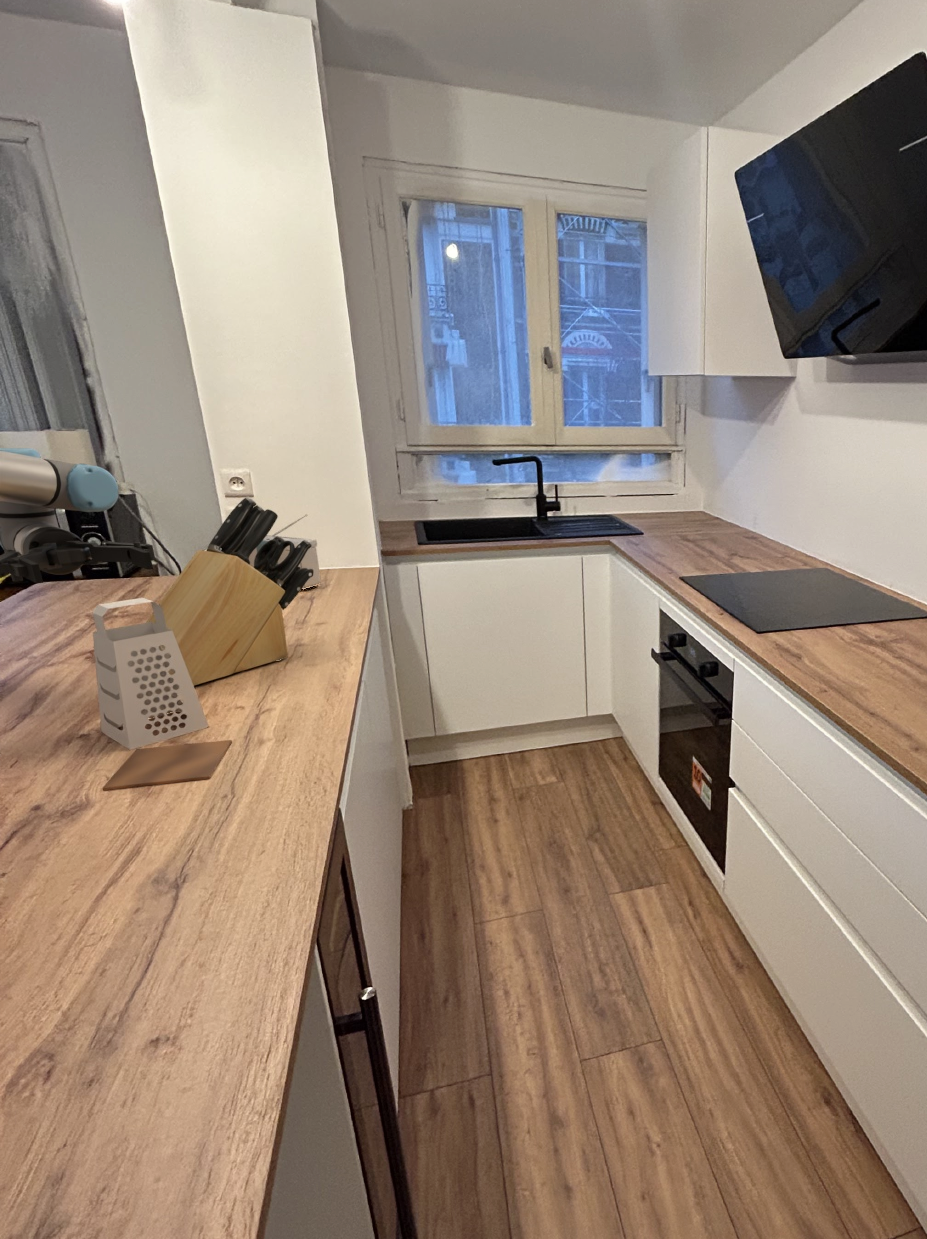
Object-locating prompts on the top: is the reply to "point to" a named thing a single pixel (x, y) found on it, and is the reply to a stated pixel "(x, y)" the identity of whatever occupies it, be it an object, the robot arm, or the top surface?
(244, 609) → the knife block
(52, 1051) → the top surface
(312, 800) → the top surface
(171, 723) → the grater
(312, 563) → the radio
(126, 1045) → the top surface
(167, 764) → the cork trivet
